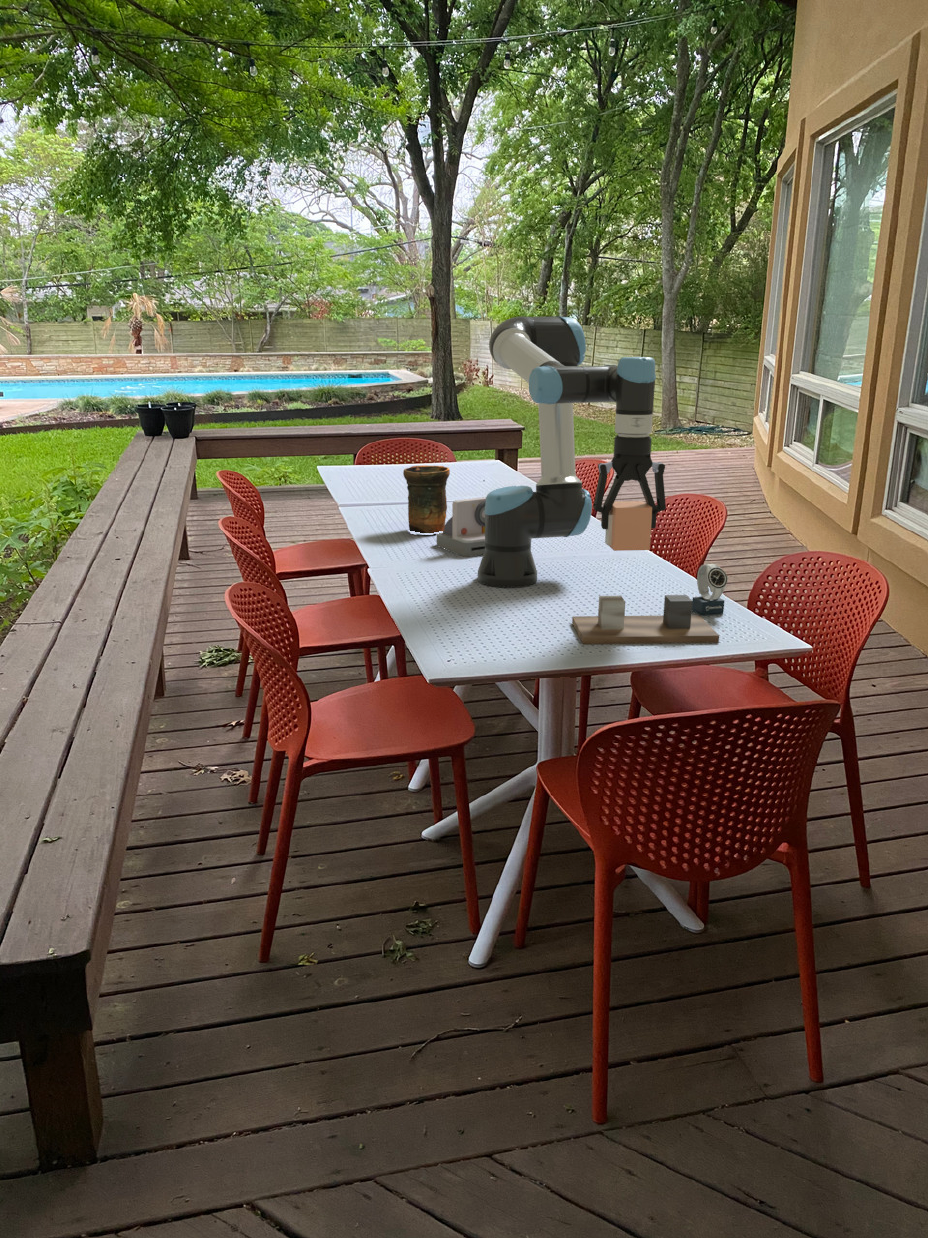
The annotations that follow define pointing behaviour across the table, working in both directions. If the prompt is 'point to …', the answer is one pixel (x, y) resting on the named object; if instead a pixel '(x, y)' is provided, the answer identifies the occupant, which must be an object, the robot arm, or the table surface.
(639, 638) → the post board
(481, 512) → the instant camera
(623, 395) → the robot arm
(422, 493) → the vessel
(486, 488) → the table surface
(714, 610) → the watch
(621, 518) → the peach cube
